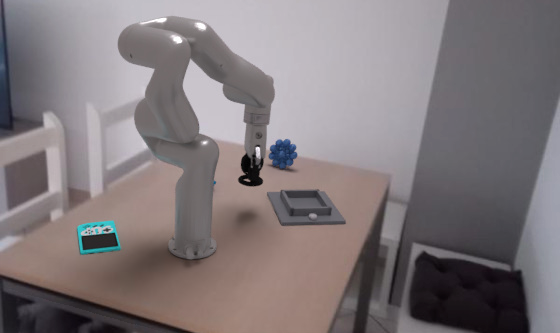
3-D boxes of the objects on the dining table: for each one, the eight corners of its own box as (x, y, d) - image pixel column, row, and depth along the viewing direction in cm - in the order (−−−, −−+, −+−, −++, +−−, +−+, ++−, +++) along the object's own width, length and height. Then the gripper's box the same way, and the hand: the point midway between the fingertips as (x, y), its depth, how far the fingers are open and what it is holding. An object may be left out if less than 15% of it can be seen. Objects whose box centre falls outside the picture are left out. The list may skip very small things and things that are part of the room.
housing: (345, 223, 164) (346, 213, 163) (281, 225, 159) (282, 214, 158) (324, 193, 184) (325, 184, 183) (266, 194, 179) (267, 184, 178)
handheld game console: (114, 223, 152) (114, 219, 152) (122, 251, 139) (121, 247, 138) (76, 227, 149) (76, 223, 148) (80, 256, 135) (80, 252, 135)
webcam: (253, 176, 166) (256, 145, 163) (268, 184, 161) (271, 153, 158) (232, 180, 161) (235, 148, 158) (247, 188, 156) (250, 156, 153)
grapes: (300, 168, 204) (303, 138, 200) (292, 174, 198) (296, 143, 194) (272, 161, 209) (275, 132, 204) (264, 166, 203) (267, 136, 199)
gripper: (276, 126, 148) (269, 186, 153) (263, 110, 163) (257, 166, 169) (249, 125, 146) (243, 186, 151) (239, 109, 162) (234, 165, 167)
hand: (251, 175), depth 160 cm, fingers closed on webcam, 6 cm apart
